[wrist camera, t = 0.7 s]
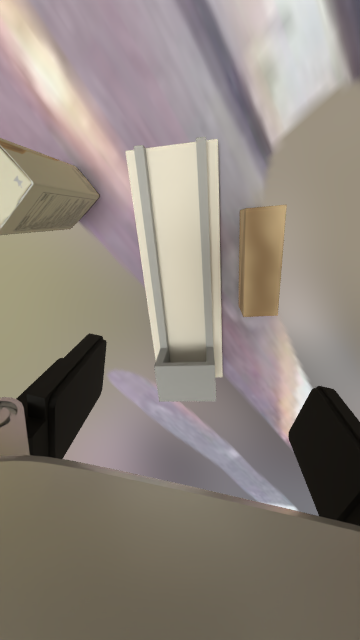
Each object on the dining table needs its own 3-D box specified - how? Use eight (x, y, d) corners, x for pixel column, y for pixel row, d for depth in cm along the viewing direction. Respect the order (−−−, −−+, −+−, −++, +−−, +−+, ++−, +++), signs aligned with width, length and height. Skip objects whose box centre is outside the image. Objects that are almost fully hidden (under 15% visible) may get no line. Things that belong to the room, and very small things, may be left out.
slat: (274, 207, 28) (286, 204, 24) (267, 303, 32) (277, 315, 28) (239, 210, 28) (245, 208, 24) (238, 304, 33) (243, 316, 29)
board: (217, 142, 26) (221, 115, 19) (221, 372, 37) (225, 404, 31) (128, 154, 27) (105, 132, 20) (159, 373, 38) (150, 404, 32)
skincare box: (75, 164, 28) (-12, 125, 16) (101, 196, 29) (36, 180, 18) (43, 203, 30) (-54, 192, 18) (69, 232, 31) (-8, 237, 20)
